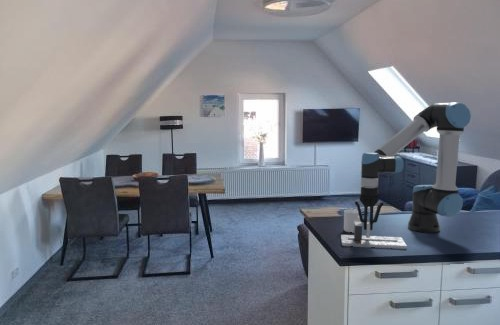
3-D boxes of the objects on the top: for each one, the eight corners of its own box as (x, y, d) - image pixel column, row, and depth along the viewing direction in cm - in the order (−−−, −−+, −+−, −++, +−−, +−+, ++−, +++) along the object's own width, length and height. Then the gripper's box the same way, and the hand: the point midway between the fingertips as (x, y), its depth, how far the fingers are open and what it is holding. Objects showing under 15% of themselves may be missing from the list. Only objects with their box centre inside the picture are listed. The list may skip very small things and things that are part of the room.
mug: (367, 234, 207) (368, 214, 206) (353, 235, 205) (353, 215, 204) (354, 227, 219) (355, 208, 218) (340, 229, 216) (341, 209, 215)
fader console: (401, 240, 197) (401, 236, 197) (406, 249, 184) (406, 245, 184) (340, 237, 202) (340, 234, 202) (342, 246, 189) (342, 242, 189)
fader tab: (360, 236, 197) (361, 221, 196) (361, 240, 191) (362, 225, 190) (353, 236, 197) (354, 221, 196) (354, 240, 191) (355, 224, 190)
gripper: (383, 185, 193) (381, 235, 196) (354, 184, 195) (352, 233, 198) (385, 188, 185) (383, 239, 188) (355, 187, 188) (353, 238, 190)
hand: (367, 236), depth 193 cm, fingers closed
